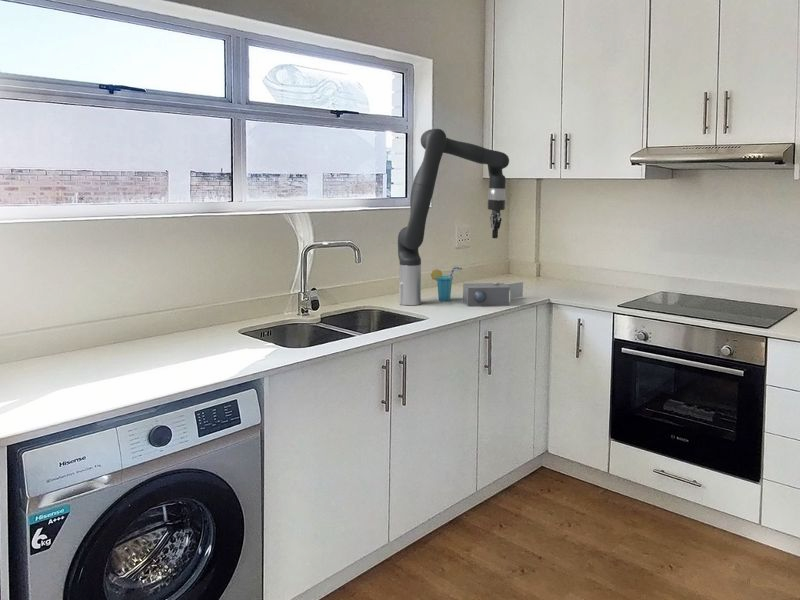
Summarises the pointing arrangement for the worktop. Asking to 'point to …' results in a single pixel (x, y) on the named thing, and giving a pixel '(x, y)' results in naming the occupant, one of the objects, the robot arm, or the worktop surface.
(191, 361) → the worktop surface
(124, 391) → the worktop surface
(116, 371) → the worktop surface
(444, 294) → the cup
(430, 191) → the robot arm
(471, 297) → the grey knobbed box
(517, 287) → the side door
